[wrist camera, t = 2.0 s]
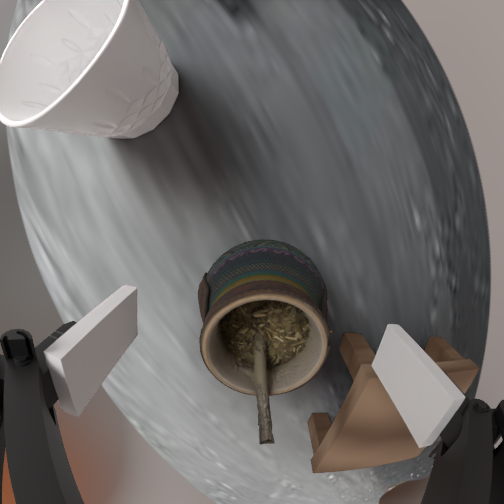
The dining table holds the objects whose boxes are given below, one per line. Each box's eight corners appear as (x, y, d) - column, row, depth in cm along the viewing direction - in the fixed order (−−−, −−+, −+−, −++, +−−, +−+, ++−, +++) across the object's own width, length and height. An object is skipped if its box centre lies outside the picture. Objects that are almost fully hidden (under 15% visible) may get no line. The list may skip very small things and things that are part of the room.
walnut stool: (342, 329, 19) (369, 378, 13) (443, 334, 19) (479, 368, 13) (304, 424, 22) (313, 473, 16) (397, 418, 22) (417, 456, 16)
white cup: (211, 71, 15) (172, -22, 5) (144, 167, 16) (42, 157, 7) (130, 38, 14) (64, -28, 4) (73, 122, 16) (-23, 100, 6)
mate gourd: (306, 219, 17) (368, 266, 8) (320, 322, 19) (364, 424, 9) (196, 242, 18) (136, 309, 8) (224, 340, 19) (205, 450, 10)
